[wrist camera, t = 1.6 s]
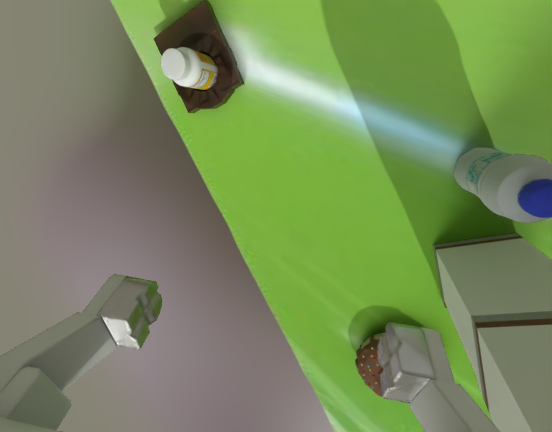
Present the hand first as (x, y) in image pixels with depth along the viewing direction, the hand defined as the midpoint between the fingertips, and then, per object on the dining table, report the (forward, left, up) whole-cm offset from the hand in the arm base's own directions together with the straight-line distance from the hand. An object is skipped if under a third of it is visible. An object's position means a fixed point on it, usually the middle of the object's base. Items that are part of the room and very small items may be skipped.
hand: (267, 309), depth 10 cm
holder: (-9, -28, -41) cm, 51 cm away
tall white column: (+11, +25, -42) cm, 50 cm away
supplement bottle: (-8, -27, -42) cm, 50 cm away
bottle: (-4, +18, -42) cm, 46 cm away
